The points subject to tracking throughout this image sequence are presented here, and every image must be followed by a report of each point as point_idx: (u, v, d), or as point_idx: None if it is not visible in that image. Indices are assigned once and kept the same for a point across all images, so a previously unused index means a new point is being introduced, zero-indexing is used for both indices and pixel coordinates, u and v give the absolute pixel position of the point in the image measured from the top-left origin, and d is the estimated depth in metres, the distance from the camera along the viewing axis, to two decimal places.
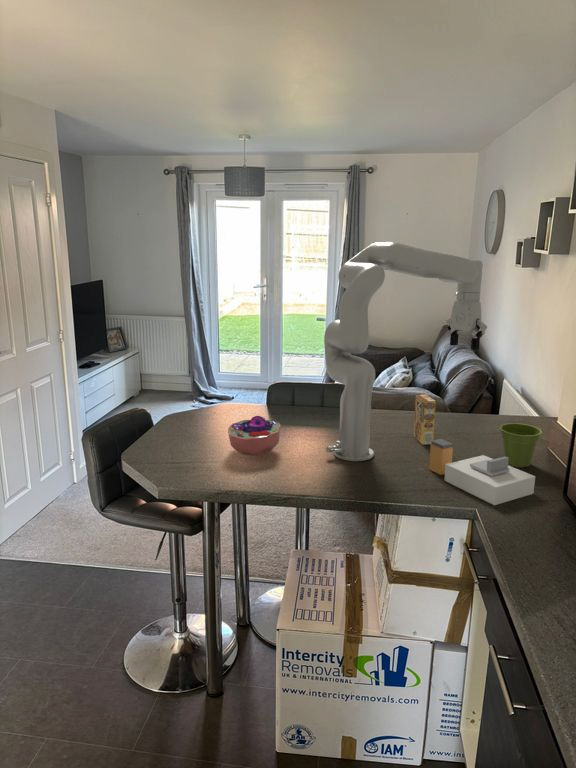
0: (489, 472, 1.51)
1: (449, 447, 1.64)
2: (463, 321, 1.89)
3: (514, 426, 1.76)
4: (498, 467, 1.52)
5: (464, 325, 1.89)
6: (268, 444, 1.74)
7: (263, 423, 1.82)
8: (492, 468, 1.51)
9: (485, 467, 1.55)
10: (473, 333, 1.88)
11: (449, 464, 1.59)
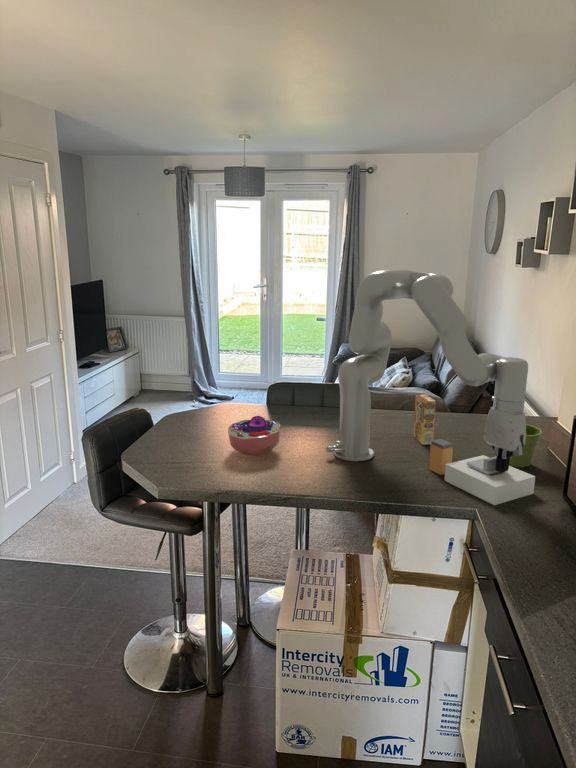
0: (485, 470, 1.52)
1: (449, 447, 1.64)
2: (502, 436, 1.47)
3: None
4: (494, 465, 1.53)
5: (503, 442, 1.47)
6: (268, 444, 1.74)
7: (263, 423, 1.82)
8: (488, 466, 1.52)
9: (482, 466, 1.56)
10: (504, 453, 1.49)
11: (449, 464, 1.59)
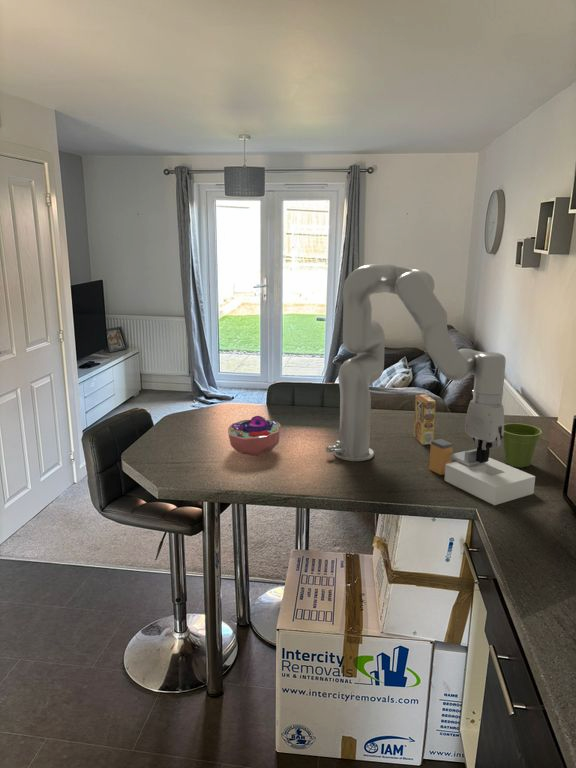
0: (466, 462, 1.58)
1: (449, 447, 1.64)
2: (481, 428, 1.53)
3: (514, 426, 1.76)
4: (475, 457, 1.59)
5: (483, 433, 1.52)
6: (268, 444, 1.74)
7: (263, 423, 1.82)
8: (469, 458, 1.58)
9: (463, 457, 1.61)
10: (484, 444, 1.54)
11: (449, 464, 1.59)
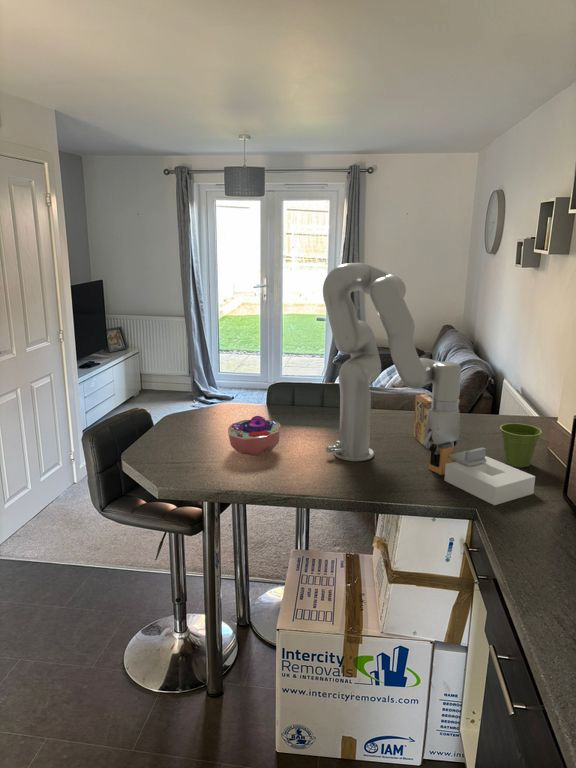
0: (467, 462, 1.58)
1: (449, 447, 1.64)
2: None
3: (514, 426, 1.76)
4: (475, 457, 1.59)
5: None
6: (268, 444, 1.74)
7: (263, 423, 1.82)
8: (469, 458, 1.58)
9: (463, 458, 1.61)
10: None
11: (449, 464, 1.59)
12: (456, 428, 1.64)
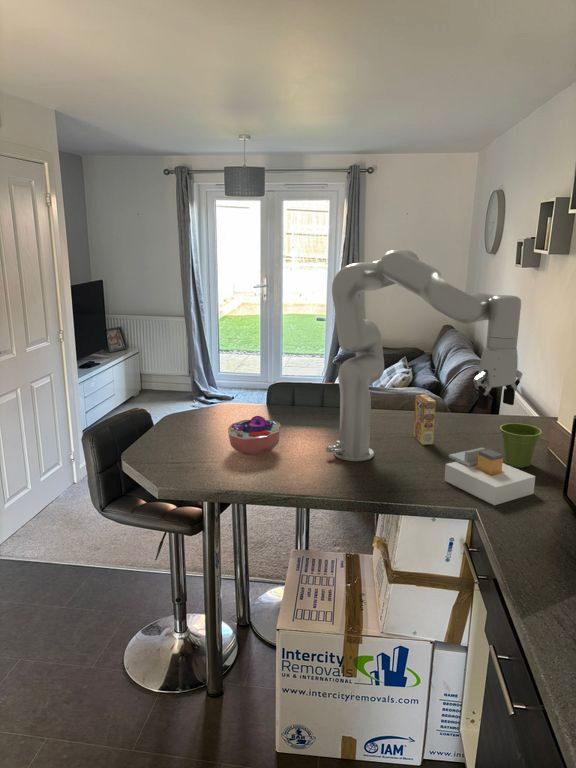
0: (467, 462, 1.58)
1: (499, 458, 1.53)
2: None
3: (514, 426, 1.76)
4: (475, 457, 1.59)
5: None
6: (268, 444, 1.74)
7: (263, 423, 1.82)
8: (469, 458, 1.58)
9: (463, 458, 1.61)
10: None
11: (449, 464, 1.59)
12: (514, 370, 1.48)
